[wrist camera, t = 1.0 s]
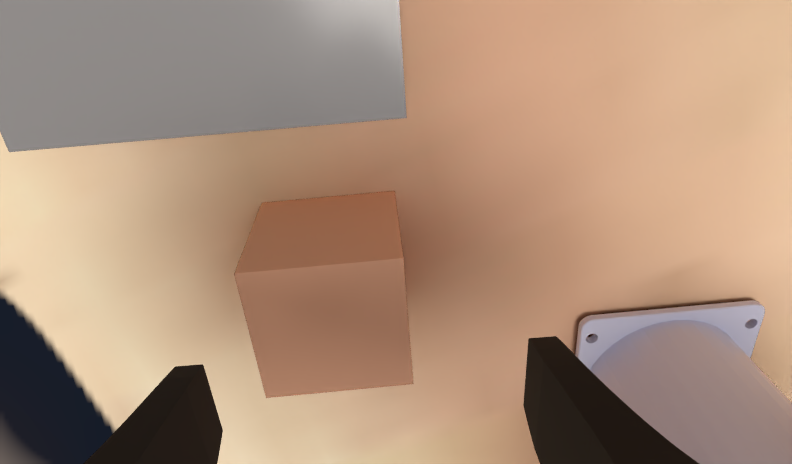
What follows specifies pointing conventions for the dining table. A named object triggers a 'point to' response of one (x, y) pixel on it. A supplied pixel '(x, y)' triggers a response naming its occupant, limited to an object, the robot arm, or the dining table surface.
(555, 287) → the dining table surface
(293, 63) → the slate plinth
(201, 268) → the dining table surface
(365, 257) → the terracotta cube
